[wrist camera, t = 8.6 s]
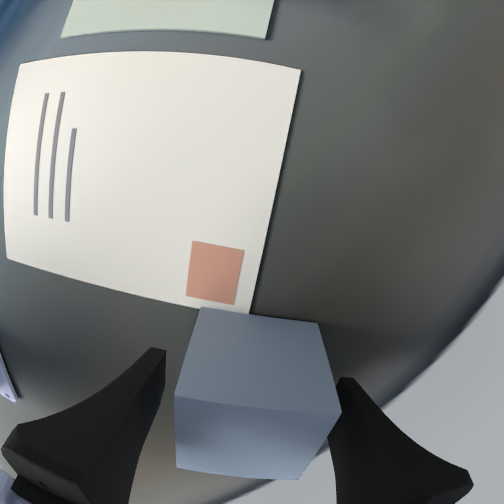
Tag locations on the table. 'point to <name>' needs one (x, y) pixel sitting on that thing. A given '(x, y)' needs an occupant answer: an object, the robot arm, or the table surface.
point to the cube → (253, 396)
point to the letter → (147, 171)
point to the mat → (169, 16)
